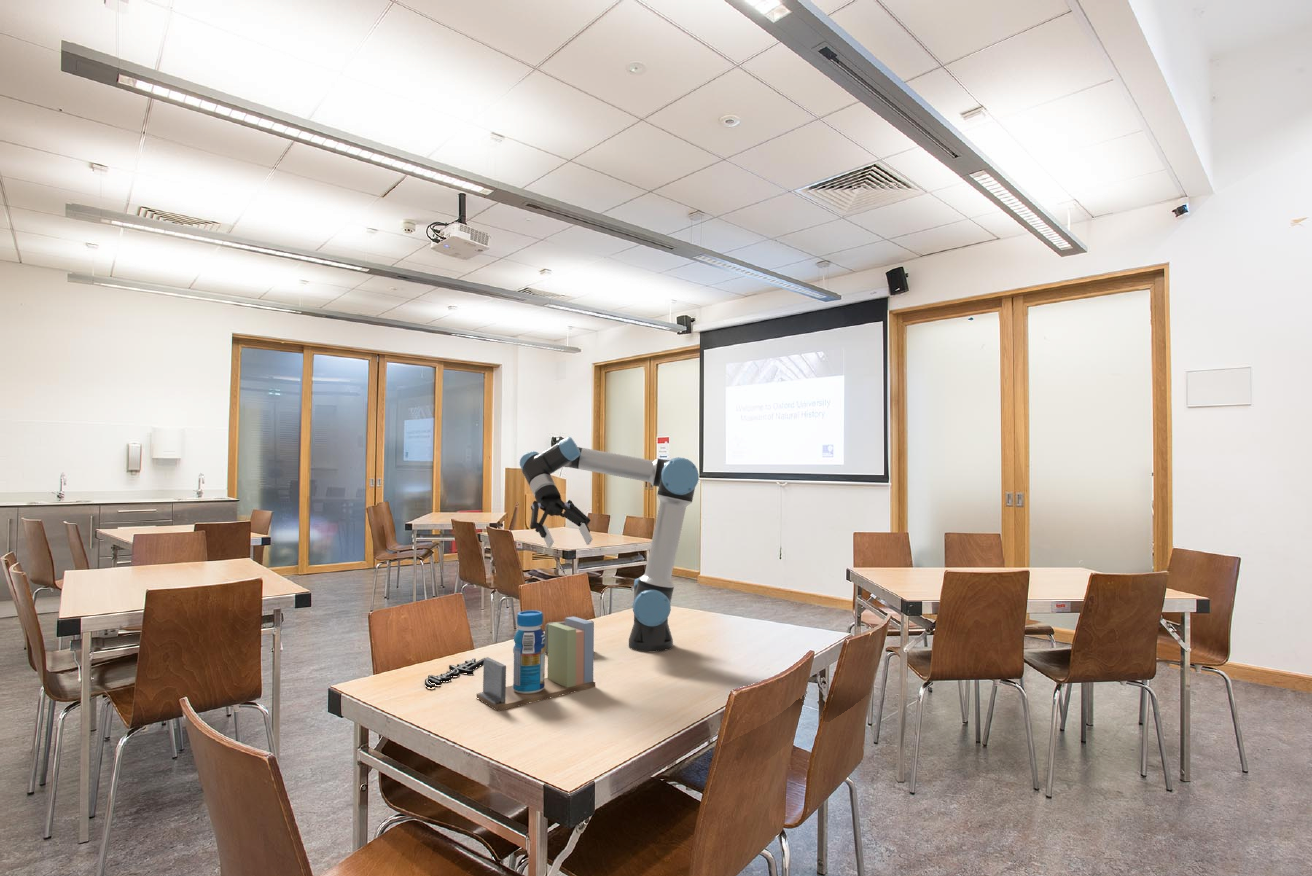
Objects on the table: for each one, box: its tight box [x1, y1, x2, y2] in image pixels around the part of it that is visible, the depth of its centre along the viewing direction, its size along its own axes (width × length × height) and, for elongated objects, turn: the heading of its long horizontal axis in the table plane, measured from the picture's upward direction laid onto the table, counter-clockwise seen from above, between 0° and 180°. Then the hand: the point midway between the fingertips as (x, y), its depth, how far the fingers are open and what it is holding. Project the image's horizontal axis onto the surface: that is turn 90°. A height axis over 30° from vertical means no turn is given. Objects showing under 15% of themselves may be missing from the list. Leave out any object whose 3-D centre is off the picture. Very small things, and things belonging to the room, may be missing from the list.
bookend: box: [478, 656, 507, 704], centre depth 163 cm, size 2×10×9 cm, turn 40°
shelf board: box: [476, 677, 596, 711], centre depth 171 cm, size 29×12×1 cm, turn 130°
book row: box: [547, 616, 595, 688], centre depth 178 cm, size 8×10×16 cm
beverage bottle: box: [512, 610, 546, 694], centre depth 170 cm, size 8×8×20 cm
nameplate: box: [424, 658, 484, 688], centre depth 186 cm, size 28×2×10 cm
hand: (570, 543), depth 191 cm, fingers open, 13 cm apart
